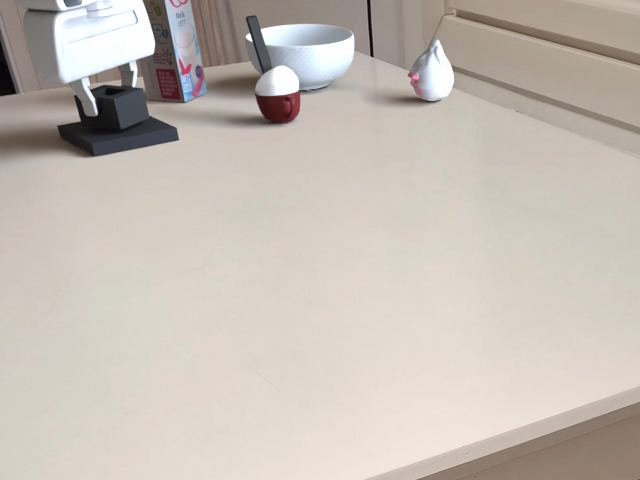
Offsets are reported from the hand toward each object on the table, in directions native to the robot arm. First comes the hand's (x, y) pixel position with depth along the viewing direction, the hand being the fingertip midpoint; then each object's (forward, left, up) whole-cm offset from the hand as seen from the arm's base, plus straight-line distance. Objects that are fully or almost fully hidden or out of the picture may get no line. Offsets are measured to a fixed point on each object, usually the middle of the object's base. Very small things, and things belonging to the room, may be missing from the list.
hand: (112, 108), depth 122 cm
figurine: (+45, -12, -4) cm, 47 cm away
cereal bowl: (+36, +10, -4) cm, 38 cm away
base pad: (0, 0, -4) cm, 4 cm away
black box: (0, 0, -2) cm, 2 cm away
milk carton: (+17, +17, -4) cm, 24 cm away
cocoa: (+22, -6, -4) cm, 23 cm away
